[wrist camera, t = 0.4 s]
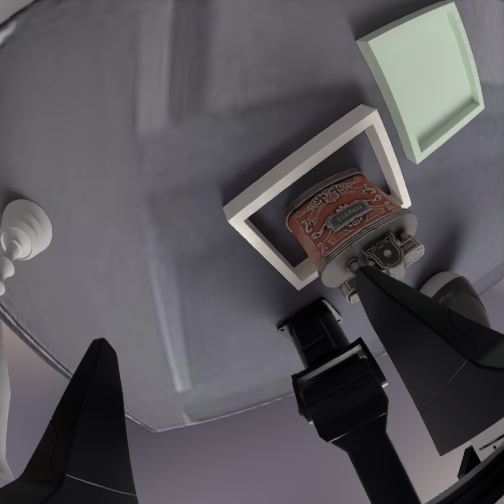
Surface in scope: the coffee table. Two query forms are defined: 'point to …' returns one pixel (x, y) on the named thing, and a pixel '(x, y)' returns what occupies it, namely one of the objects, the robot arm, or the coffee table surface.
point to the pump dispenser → (456, 296)
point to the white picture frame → (302, 164)
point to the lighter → (353, 230)
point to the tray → (425, 76)
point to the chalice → (17, 247)
